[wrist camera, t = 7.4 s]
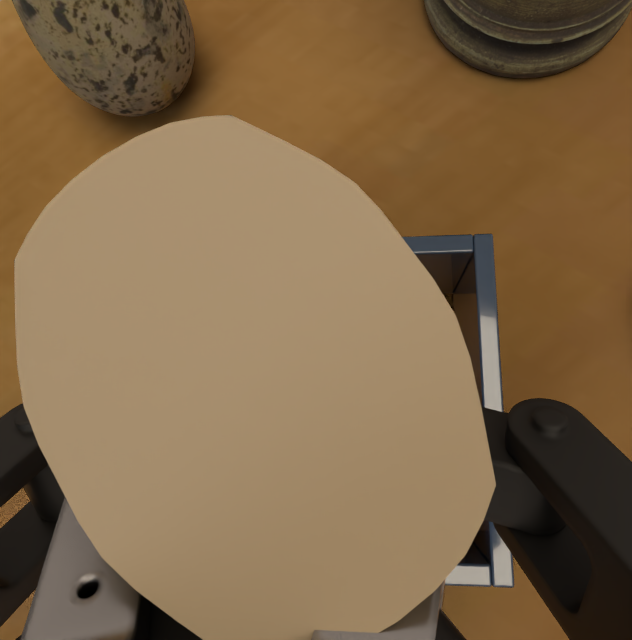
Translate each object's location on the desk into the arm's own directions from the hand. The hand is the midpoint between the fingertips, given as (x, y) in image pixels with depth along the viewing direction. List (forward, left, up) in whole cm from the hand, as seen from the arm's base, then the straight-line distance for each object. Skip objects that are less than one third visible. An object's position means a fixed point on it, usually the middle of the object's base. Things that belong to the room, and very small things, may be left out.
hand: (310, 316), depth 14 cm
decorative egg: (-13, +8, -9) cm, 18 cm away
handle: (+1, -2, -8) cm, 8 cm away
